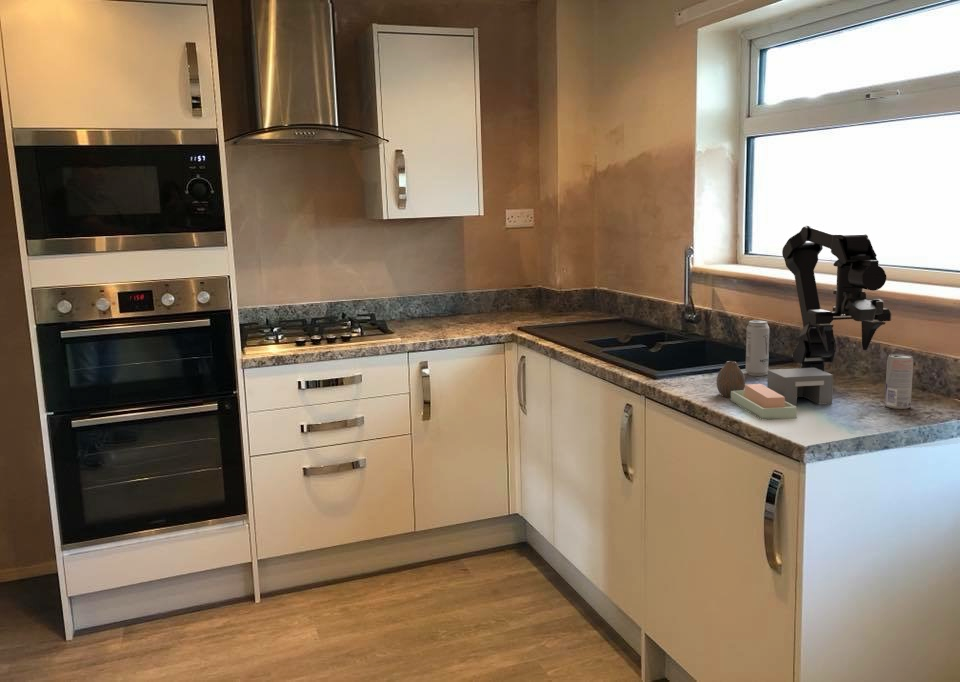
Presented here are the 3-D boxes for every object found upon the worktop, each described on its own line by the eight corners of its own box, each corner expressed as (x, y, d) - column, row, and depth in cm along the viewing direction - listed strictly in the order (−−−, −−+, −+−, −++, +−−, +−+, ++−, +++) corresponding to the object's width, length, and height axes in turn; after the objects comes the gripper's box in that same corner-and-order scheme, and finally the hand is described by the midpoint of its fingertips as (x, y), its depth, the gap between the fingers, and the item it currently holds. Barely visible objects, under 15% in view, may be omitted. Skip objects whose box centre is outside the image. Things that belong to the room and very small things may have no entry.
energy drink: (902, 403, 190) (905, 353, 188) (915, 408, 185) (918, 357, 183) (880, 404, 190) (882, 354, 188) (892, 409, 185) (895, 358, 183)
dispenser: (767, 397, 200) (767, 369, 199) (813, 394, 201) (814, 367, 200) (784, 406, 191) (785, 377, 189) (833, 404, 192) (834, 375, 190)
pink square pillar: (744, 400, 196) (744, 384, 195) (760, 399, 196) (760, 383, 195) (767, 415, 182) (767, 397, 181) (784, 414, 182) (784, 397, 181)
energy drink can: (765, 377, 223) (766, 323, 220) (743, 375, 226) (744, 322, 223) (770, 372, 228) (771, 320, 225) (748, 371, 231) (749, 319, 228)
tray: (730, 400, 198) (730, 390, 197) (761, 399, 198) (762, 389, 198) (762, 419, 180) (762, 408, 180) (796, 417, 181) (796, 407, 180)
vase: (710, 394, 205) (711, 361, 203) (732, 391, 207) (732, 358, 206) (728, 400, 198) (729, 365, 197) (750, 397, 201) (751, 362, 200)
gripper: (829, 291, 183) (826, 358, 185) (907, 288, 184) (903, 355, 187) (805, 286, 194) (803, 350, 196) (879, 283, 195) (876, 346, 198)
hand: (846, 350), depth 194 cm, fingers open, 9 cm apart
